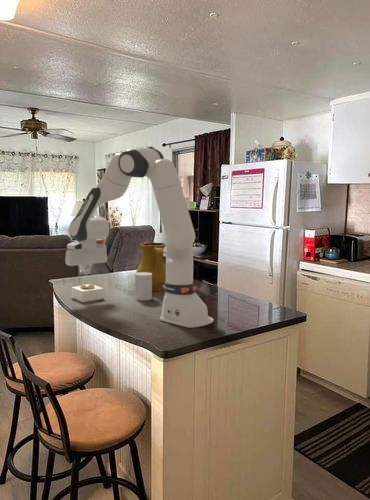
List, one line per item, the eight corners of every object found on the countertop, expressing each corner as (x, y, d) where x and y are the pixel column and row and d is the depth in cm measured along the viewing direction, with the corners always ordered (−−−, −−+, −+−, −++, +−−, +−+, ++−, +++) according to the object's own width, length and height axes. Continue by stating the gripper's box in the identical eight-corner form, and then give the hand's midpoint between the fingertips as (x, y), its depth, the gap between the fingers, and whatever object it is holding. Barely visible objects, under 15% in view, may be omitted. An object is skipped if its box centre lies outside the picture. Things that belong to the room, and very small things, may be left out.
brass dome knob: (96, 297, 188) (96, 285, 187) (84, 299, 184) (84, 287, 183) (90, 294, 193) (90, 283, 192) (78, 296, 189) (78, 284, 188)
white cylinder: (148, 300, 186) (149, 275, 184) (132, 299, 187) (132, 274, 186) (153, 296, 194) (154, 272, 192) (137, 295, 195) (138, 271, 194)
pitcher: (171, 285, 219) (170, 240, 215) (166, 294, 201) (165, 246, 196) (140, 284, 221) (139, 240, 216) (133, 294, 202) (131, 246, 198)
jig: (103, 298, 188) (103, 288, 187) (82, 302, 181) (82, 291, 180) (92, 294, 196) (92, 284, 195) (71, 297, 189) (71, 287, 188)
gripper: (103, 242, 194) (103, 270, 196) (63, 244, 181) (64, 274, 182) (109, 243, 190) (109, 272, 191) (69, 246, 176) (70, 276, 178)
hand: (87, 273), depth 187 cm, fingers closed
